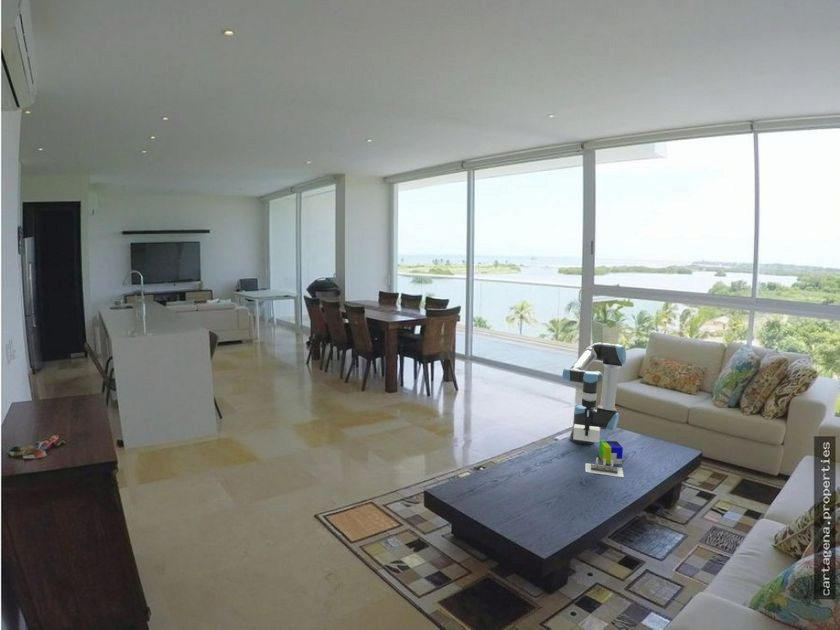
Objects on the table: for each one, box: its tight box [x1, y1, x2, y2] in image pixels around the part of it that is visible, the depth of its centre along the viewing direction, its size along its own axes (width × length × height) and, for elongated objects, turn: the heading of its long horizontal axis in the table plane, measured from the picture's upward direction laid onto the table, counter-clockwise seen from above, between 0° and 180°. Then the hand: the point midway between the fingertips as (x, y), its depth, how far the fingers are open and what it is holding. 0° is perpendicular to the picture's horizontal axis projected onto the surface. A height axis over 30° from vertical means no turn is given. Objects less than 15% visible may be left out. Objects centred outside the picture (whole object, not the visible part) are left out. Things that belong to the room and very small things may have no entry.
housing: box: [573, 423, 601, 444], centre depth 296 cm, size 14×6×7 cm, turn 71°
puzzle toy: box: [598, 440, 624, 465], centre depth 308 cm, size 10×10×10 cm
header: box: [584, 457, 625, 479], centre depth 294 cm, size 12×20×7 cm, turn 73°
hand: (586, 438), depth 296 cm, fingers closed on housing, 6 cm apart
